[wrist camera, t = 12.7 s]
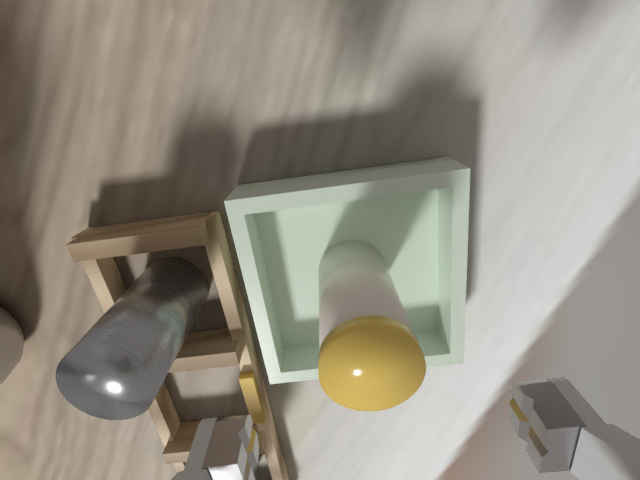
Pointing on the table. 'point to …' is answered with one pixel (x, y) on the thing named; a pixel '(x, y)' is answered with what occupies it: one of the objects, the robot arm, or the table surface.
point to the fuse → (364, 332)
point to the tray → (354, 225)
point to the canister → (134, 342)
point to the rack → (199, 346)
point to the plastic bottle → (9, 344)
